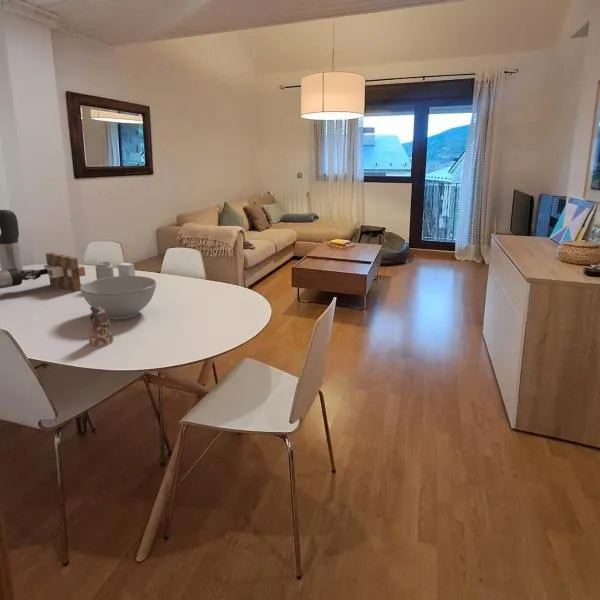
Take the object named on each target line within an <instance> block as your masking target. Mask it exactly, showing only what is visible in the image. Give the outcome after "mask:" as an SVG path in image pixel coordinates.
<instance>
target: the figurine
mask: <svg viewBox="0 0 600 600" xmlns="http://www.w3.org/2000/svg"><path fill="white" fill-rule="evenodd" d="M89 309H90V311H91V313H90V314H89V318H90V325H89V333H88V335H89V336H88V340H89V344H90V345H91V346H92V347H103V346H105V347H106V346H108V345H111V344H112V343H114V340H115V339H114V334H113V332H112V327H111V323H110V322H111V321H110V320H111V319H108V318H107V315H106V313H105V310H104V309H103V308H101V307H97V308H94V307H93V306H92V307H91V306H90V308H89Z"/></svg>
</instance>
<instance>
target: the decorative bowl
mask: <svg viewBox="0 0 600 600" xmlns="http://www.w3.org/2000/svg"><path fill="white" fill-rule="evenodd" d="M156 287H157V281H156V279H154V278H151V277H147V276H140V275H135V276H119V275H118V276H114V277H107V278H101V279H97V278H96V279H93V280H90V281H87V282H85V283H83V284H82V286H81V287H80V293H81V295H82V297H83V298H84V300H85V301H86V303H87V304H88V305H89V306H90V308H91V307H92V306H93V307H94V308H97V307H101V308H103V309H104V310H105V313H106V315H107V318H108V320H127V319H131V318H134V317H137V316H139V314H140V312H141V311H142V310H143V309H144V308H145V307H146V306H147V305H148V304H149V303H150V302H151V300H152V298H153V296H154V295H155V294H154V293H155V291H156Z"/></svg>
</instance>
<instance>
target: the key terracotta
mask: <svg viewBox="0 0 600 600" xmlns="http://www.w3.org/2000/svg"><path fill="white" fill-rule="evenodd" d="M78 269H79V277H83V276H86V270H85V266H82V265H78ZM67 273H68V277H71V278H73V276H72V269H70V268H67Z"/></svg>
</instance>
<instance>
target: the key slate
mask: <svg viewBox="0 0 600 600" xmlns="http://www.w3.org/2000/svg"><path fill="white" fill-rule="evenodd" d="M43 267H44V268H43V269H47V271H48V268H51V267H54V265H52V264H48V265H47V264H44V265H43ZM47 275H49V273H48V274H47Z"/></svg>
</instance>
